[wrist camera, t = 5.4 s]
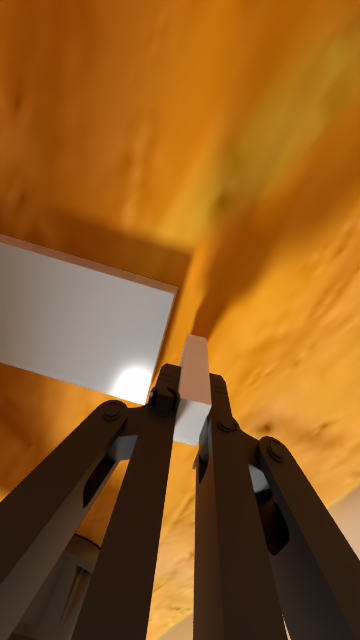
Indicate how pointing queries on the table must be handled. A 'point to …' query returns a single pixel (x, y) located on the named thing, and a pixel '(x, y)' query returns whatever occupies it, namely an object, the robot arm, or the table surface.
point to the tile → (81, 319)
